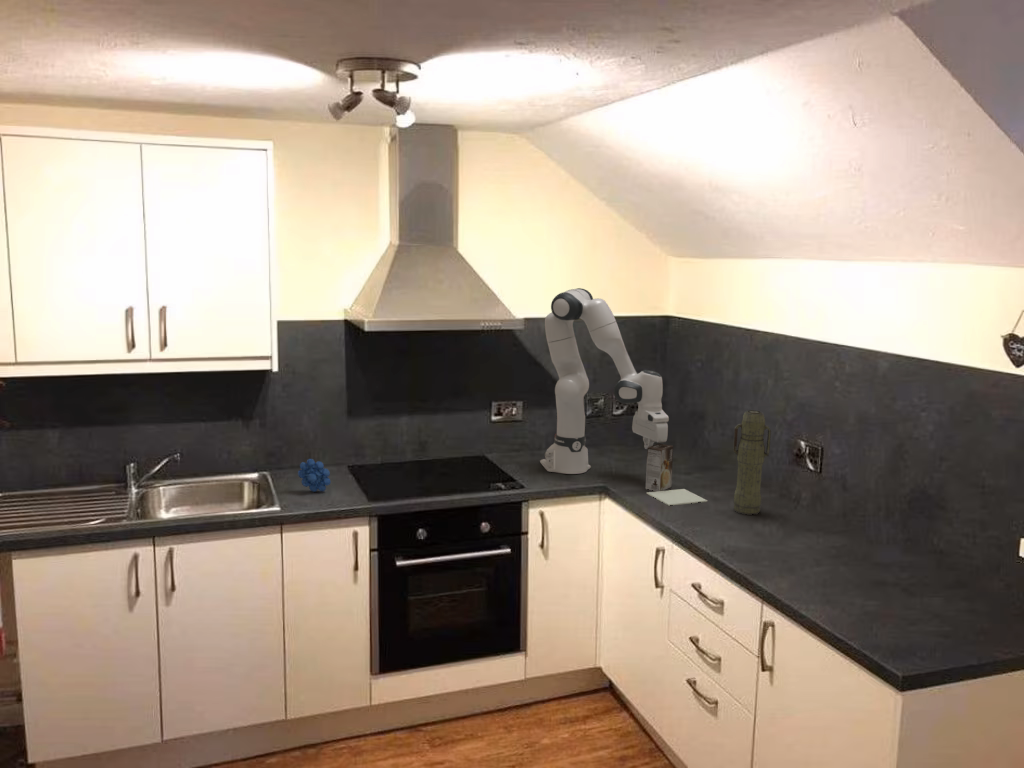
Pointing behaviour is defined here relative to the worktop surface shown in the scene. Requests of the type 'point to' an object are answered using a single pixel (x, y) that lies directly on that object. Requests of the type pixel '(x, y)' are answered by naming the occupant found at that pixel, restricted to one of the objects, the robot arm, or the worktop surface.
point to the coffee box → (659, 467)
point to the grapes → (314, 475)
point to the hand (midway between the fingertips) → (648, 449)
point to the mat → (676, 497)
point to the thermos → (750, 461)
